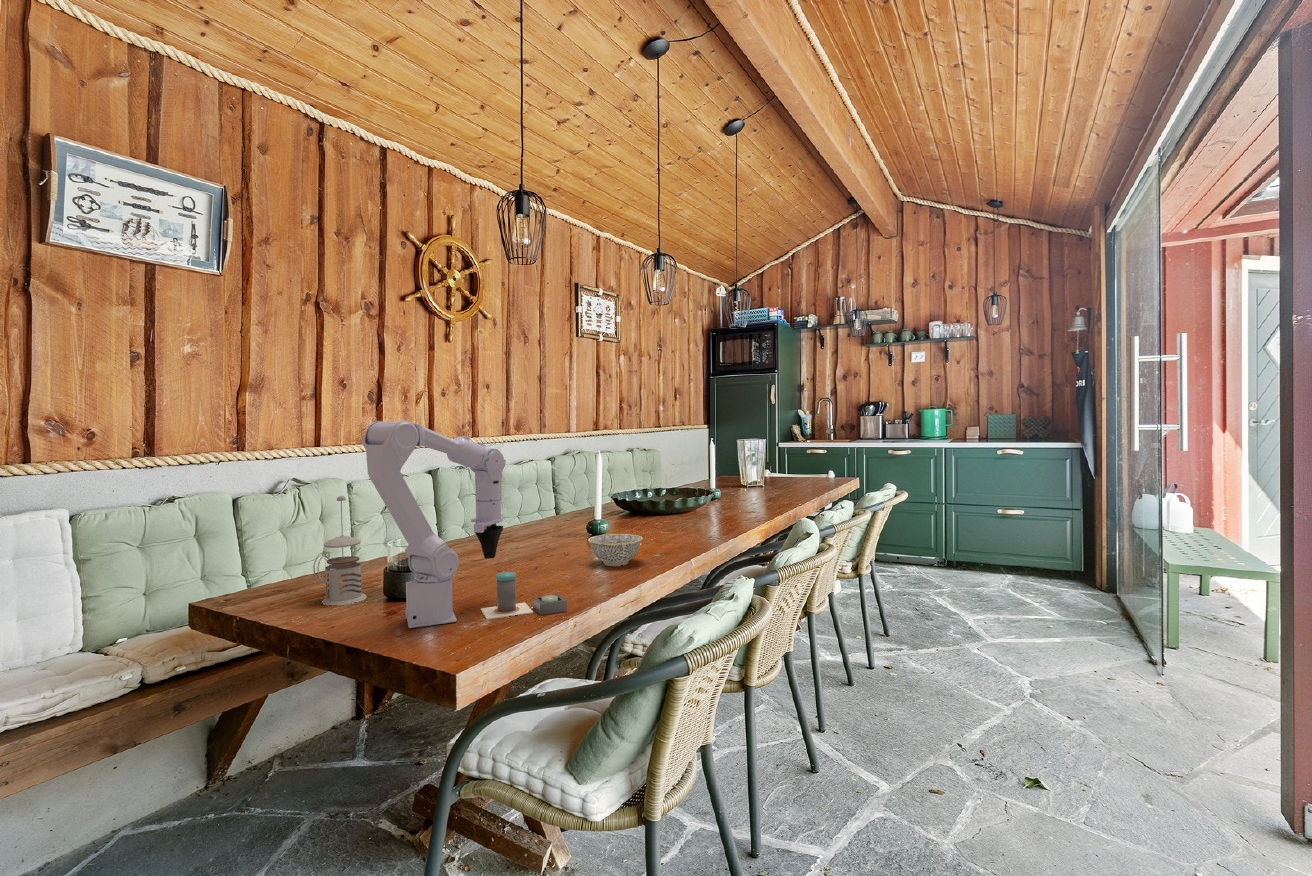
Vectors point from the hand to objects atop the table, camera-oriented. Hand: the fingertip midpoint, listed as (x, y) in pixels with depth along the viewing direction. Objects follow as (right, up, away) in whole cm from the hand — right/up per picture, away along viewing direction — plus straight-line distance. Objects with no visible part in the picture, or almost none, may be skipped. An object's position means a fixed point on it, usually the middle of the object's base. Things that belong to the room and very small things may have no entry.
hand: (489, 557), depth 149 cm
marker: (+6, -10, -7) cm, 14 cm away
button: (+15, -10, -6) cm, 19 cm away
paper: (+6, -11, -7) cm, 14 cm away
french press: (-37, -11, +4) cm, 38 cm away
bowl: (+27, -9, +38) cm, 47 cm away
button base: (+15, -10, -6) cm, 19 cm away
